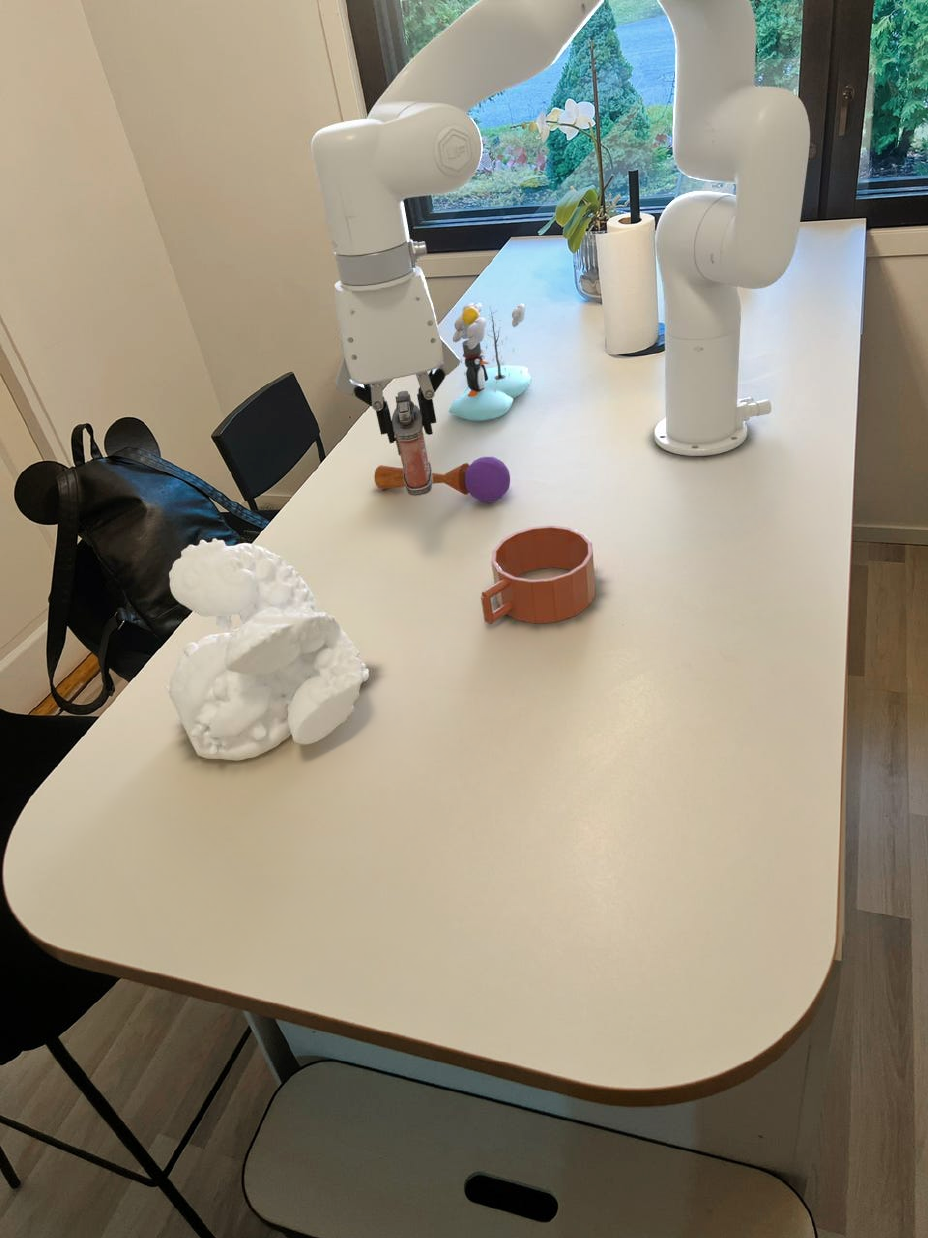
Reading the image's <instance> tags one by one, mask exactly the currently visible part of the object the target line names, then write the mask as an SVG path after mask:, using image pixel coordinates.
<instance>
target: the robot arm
mask: <svg viewBox="0 0 928 1238" xmlns="http://www.w3.org/2000/svg"><path fill="white" fill-rule="evenodd" d="M604 1H605V0H478V1H477V2H475V3H474V4H472V6H470V7H469V8H468V9H466V10H465V11H464V12H462V14H461V15H459V17H457V18H456V19H455V20H454V21H453V22H452V23H451V24H450V25H448V26H447V27H446V28H444V30H442V31H441V32H440V33H438V35H436V36H435V37H434V38H433V39H432V40H431V41H429V42H428V43H427V44H426V45H425V46H424V47H422V49H421V50H419V51H418V52H417V53H416V54H415V55H413V57H412V58H411V59H410V60H409V62H407V63H406V65H405V66H404V67H403V68H402V70H401V71H400V72H399V73H398V74H397V75H396V77H395V78H394V79H393V80H392V82H391V83H390V84H389V86H388V87H387V88H386V89H385V90H384V92H383V93H382V94H381V96H380V97H379V98H378V99H377V101H376V102H375V104H374V105H373V106H372V108H371V110H370V111H369V113H368V115H367V118H362V119H354V120H347V121H342V122H338V123H334V124H331V125H328V126H325V127H323V128H321V129H319V130H318V131H316V133H315V134H314V136H312V139H311V144H310V145H311V146H310V148H311V149H310V150H311V155H312V160H313V166H314V169H315V174H316V178H317V182H318V187H319V191H320V195H321V201H322V205H323V209H324V214H325V217H326V222H327V226H328V232H329V235H330V240H331V244H332V248H333V253H334V257H335V258H334V259H335V262H336V266H337V267H336V268H337V271H338V274H339V280H338V281H337V282H335V283H334V285H333V287H334V289H333V290H334V304H335V305H334V306H335V313H336V314H335V315H336V320H337V327H338V331H339V337H340V343H341V349H342V353H343V356H342V358H341V361H340V365H339V368H338V371H337V374H336V377H335V380H334V387H335V390H336V391H337V392H339V393H342V394H346V395H348V396H352V397H353V396H354V397H356V398H357V399H359V400H360V401H362V402H363V403H365V404H367V405H368V406H370V407H372V409H373V410H374V411H375V414H376V419H377V423H378V427H379V432H380V435H381V436H383V435H387V439H388V442H389V444H394V443H395V442H396V439H395V434H394V431H393V425H392V416H391V412H390V411H391V410H390V408H389V404H388V401H387V400H386V399H385V397H384V392H383V391H384V390H383V389H384V388H383V382H387V381H392V380H396V379H400V378H406V377H409V376H413V375H415V376H416V380H417V382H418V385H419V387H418V389H417V394H416V398H417V403H418V408H419V410H420V412H421V415H422V420H423V429H424V433H425V434H426V435H427V436H431V435H433V434H434V433H433V427H432V425H433V424H437V417H436V411H435V405H434V399H433V398H434V397H435V393H436V392H437V390H438V389H439V388H440V386H441V384H442V383H443V382H444V380H445V379H446V377H447V376H449V375H450V374H451V373H452V372H454V370H455V369H457V368H458V367H459V366H460V365H461V362H460V361H461V359H460V358H459V356H458V355H457V354H456V353H455V351H454V350H453V349H452V348H451V347H450V346H449V344H448V343H447V342H446V341H445V340H444V339H443V338H442V337H441V335H440V329H439V324H438V321H437V320H438V319H437V317H436V312H435V308H434V304H433V301H432V298H431V295H430V291H429V288H428V283H427V280H426V277H425V275H424V271H423V270H422V267H421V266H418V265H416V263H417V262H418V260H420V259H421V258H422V257H427V256H428V250H427V244H426V242H425V241H419V242H418V241H413V239H411V238H410V234H409V233H410V231H409V227H408V221H407V216H406V210H405V203H404V201H405V200H406V199H409V198H416V197H417V198H418V197H427V196H435V195H443V194H448V193H450V192H451V193H452V192H455V191H456V190H459V189H460V188H462V187H464V186H465V185H466V184H467V183H468V182H469V181H470V180H472V178H473V177H474V176H475V174H476V172H477V171H478V169H479V167H480V164H481V162H482V157H483V149H484V148H483V139H482V135H481V131H480V130H479V129H480V128H479V127H478V125H477V123H476V122H475V121H474V119H473V118H472V117H471V116H470V115H469V114H468V112H469V111H470V110H471V109H473V108H474V107H475V106H477V105H479V104H480V103H482V102H483V101H485V100H487V99H488V98H491V97H492V96H494V95H496V94H499V93H501V92H504V91H506V90H509V89H511V88H514V87H516V86H519V85H522V84H524V83H525V82H527V81H529V80H532V79H533V78H535V77H536V76H538V75H540V74H541V73H543V72H545V71H546V70H548V69H549V68H550V67H551V66H552V65H553V64H555V62H556V61H557V59H558V58H559V57H560V56H561V54H562V53H563V52H564V50H565V49H566V48H567V47H568V46H569V44H570V43H571V42H572V41H573V39H574V38H575V36H576V35H577V34H578V33H579V31H580V30H581V29H582V28H583V27H584V26H585V25H586V23H587V22H588V21H589V20H590V18H591V17H592V16H593V15H594V14H595V12H596V11H597V10H598V9H599V8H600V6H601V5H602V4H603V2H604ZM656 1H657V3H658V4H659V5H660V7H661V8H662V10H663V12H664V13H665V15H666V17H667V19H668V21H669V25H670V26H671V29H672V33H673V37H674V43H675V76H674V77H675V78H674V80H675V82H674V100H673V116H672V117H673V119H672V120H673V121H672V156H673V161H674V164H675V166H676V168H677V170H679V172H680V173H681V174H683V175H685V176H687V177H688V178H691V179H696V180H698V181H699V180H700V181H707V182H713V183H721V184H730V185H735V194H731V193H723V192H715V191H703V190H700V191H692V192H687V193H685V194H682V195H680V196H678V197H676V198H675V199H673V200H672V201H671V202H670V203H669V204H668V205H667V206H666V207H665V208H664V210H663V212H662V213H661V216H659V219H658V222H657V225H656V230H655V238H654V239H655V253H656V259H657V264H658V269H659V273H660V277H661V285H662V290H663V291H662V293H663V303H664V306H663V308H664V310H663V311H664V378H665V379H664V381H665V382H664V385H665V387H664V389H665V390H664V392H665V393H664V394H665V395H664V397H665V401H664V402H665V403H664V404H665V418H663V419H662V420H661V421H659V423H658V424H657V425H656V426H655V428H654V441H655V443H656V444H657V445H658V446H659V447H660V449H661V448H662V449H663V450H665V451H667V452H669V453H673V454H675V455H681V456H687V457H706V456H714V455H718V454H722V453H726V452H729V451H731V450H734V449H736V448H738V447H739V446H741V445H742V444H743V443H744V442H745V440H746V439H747V437H748V424H747V422H746V421H749V420H750V418H753V417H759V416H763V415H769V414H771V412H772V404H771V402H770V400H769V399H763V400H759V401H755V400H754V398H753V397H752V396H749V397H744V398H741V399H738V389H739V369H740V368H739V367H740V366H739V365H740V342H741V322H742V320H741V318H742V306H741V298H740V294H739V290H738V288H743V289H748V290H757V289H758V290H759V289H760V290H761V289H765V288H768V287H770V286H771V285H773V284H775V283H776V282H778V281H779V280H780V279H781V278H782V276H783V275H784V274H785V273H786V271H787V270H788V268H789V267H790V264H791V262H792V259H793V256H794V254H795V251H796V247H797V243H798V238H799V231H800V226H801V217H802V210H803V204H804V203H803V202H804V195H805V187H806V180H807V172H808V171H807V170H808V163H809V155H810V147H811V146H810V144H811V128H810V127H811V126H810V121H809V116H808V113H807V110H806V107H805V105H804V103H803V101H802V100H801V99H800V98H799V96H798V95H797V94H796V93H794V92H793V91H791V90H789V89H787V88H783V87H779V86H756V82H755V67H756V50H757V49H756V48H757V47H756V46H757V25H756V24H757V23H756V18H755V12H754V9H753V6H752V2H751V1H750V0H656ZM367 385H368V386H367Z"/></svg>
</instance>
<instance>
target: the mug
mask: <svg viewBox="0 0 928 1238" xmlns="http://www.w3.org/2000/svg"><path fill="white" fill-rule="evenodd" d="M593 551H594V549H593V543H592V541H591V540H590V539H589V538H588V537H587V536H586V534H584V533H583V532H580V531H578V530H576V529H573V528H571V527H565V526H558V525H540V526H531V527H527V528H525V529H522V530H521V529H520V530H518V531H514V532H513V533H512V534H510V535H507V536H506V537H504V538H503V539H501V540H500V541H499V542H498V544H497V545H496V546H495V547H494V549H493V550H492V552H491V568H492V576H493V582H494V584H493V585H491V586H489V587H488V588H486V589H484V590H483V591H482V592H481V595H480V602H481V607H482V613H483V620H484V622H486V623H488V624H489V625H491V624H493V623H495V622H496V621H498V620H499V619H502V618H503V617H504V616H506V615H508V616H509V617H511V618H513V619H515V620H516V621H521V622H525V623H531V624H548V623H549V624H550V623H557V622H561V621H564V620H568V619H570V618H573V617H575V616H578V615H579V614H580V613H581V612H583V611H584V610H586V609H588V608H589V607H590V605H591V604H592V602H593V600H594V599H595V597H596V595H597V593H596V592H597V591H596V579H595V578H596V577H595V565H594V563H595V562H594V552H593ZM551 568H556V569H562V570H568V571H569V572H567V573H563V574H560V575H558V576H554V577H550V578H539V579H538V578H537V579H530V578H524V577H519V576H521V575H522V574H527V573H528V572H532V571H535V570H539V569H540V570H541V569H551ZM493 597H496V601H497V604H498V606H499V607H498V608H496V609H495V610H493V607H492V598H493Z"/></svg>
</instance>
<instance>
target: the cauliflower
mask: <svg viewBox="0 0 928 1238" xmlns="http://www.w3.org/2000/svg"><path fill="white" fill-rule="evenodd" d="M180 555H181V556H180V558H177V559H176V560H174V562H173V563H172V568H171V570H169V573H168V577H169V588H170V592H171V594H172V596H173V598H174V599H175V601H177V602H178V603H179V604H180V605H182V606H184V607H186V608H187V609H189V610H190V611H192V612H193V613H195V614H197V615H199V616H201V617H205V618H212V617H213V618H214V617H215V618H216V626H217V627H218V628H219V629H221V630H225V631H228V630H230V629H231V628H232V627H233V620H232V618H231V617H232V616H234V615H237V614H238V616H239V618H240V621H241V622H242V625H241V626H240V627H238V628H233V629H232V630H231V631H229V632H221V633H215V634H214V633H213V634H209V635H206V636H204V637H202V638H200V639H199V640H198V641H197V642H196V643H195V642H188V643H186V644H185V645H184V647H183V655H182V656H181V657H180V659H179V660H178V662H177V665H176V667H175V669H174V671H173V673H172V675H171V677H170V680H169V681H170V683H169V685H167V684H165V685H164V687H165V689H166V691H167V692H168V693H169V698H170V700H171V702H172V704H173V706H174V708H175V710H176V713H177V715H178V717H179V719H180V720H179V721H181V724H182V726H183V728H184V730H185V732H186V734H187V737H188V739H189V741H190V743H191V745H192V747H193V749H194V751H195V753H196V754H197V756H199V757H202V758H204V759H208V760H226V761H234V762H235V761H236V762H239V761H245V760H246V759H252V758H256V757H258V756H260V755H262V754H265V753H266V752H268V751H270V750H272V749H274V748H276V747H278V746H279V745H280V744H281V743H282V742H284V741H286V740H287V739H289V737H290V736H291V737H292V740H293V742H294V743H296V744H299V745H311V744H314V743H317V742H319V741H320V740H322V739H324V738H326V737H327V736H328V735H330V734H331V733H332V732H334V731H335V729H337V728H338V726H340V725H341V724H344V723H346V721H347V719H348V718H349V716H350V714H352V713H353V712H354V710H355V707H354V703H355V702H356V700H359V698H360V691H361V685H362V684H363V683H365V682H367V681H368V679H369V678H370V674H369V672H370V669H369V668H367V665H366V664H365V663H364V662H363V660H362V659H361V657H360V651H359V650H357V647H356V646H355V644H354V642H353V641H352V640H350V637H349V635H347V633H346V632H344V630H343V628H342V627H341V626H340V623H339V622H338V621H337V619H336V617H335V615H330V614H329V613H328V612H325V611H320V612H319V611H318V610H317V602H316V599H315V597H314V594H313V592H312V590H311V589H310V588H309V586H308V585H307V583H306V582H305V580H304V579H302V577H301V576H300V575H299V572H298V571H295V569H294V568H295V567H294V566H293V565H290V561H289V560H283V561H282V556H280V555H279V554H275V553H273V552H271V551H269V550H267V549H266V548H265V547H261V546H260V545H256V544H254V543H248V542H243V543H238V544H235V545H227V544H226V542H225V540H223V539H217V538H215V537H214V538H212V540H211V541H210V542H207V541H206V540H204V539H201V540H199V543H198V544H197V545H194V544H189V545H187V547H185V548H184V549H182V550H181V551H180Z"/></svg>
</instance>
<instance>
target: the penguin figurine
mask: <svg viewBox="0 0 928 1238" xmlns="http://www.w3.org/2000/svg"><path fill="white" fill-rule="evenodd" d="M491 307H492V306H489V310H492V308H491ZM482 309H483V304H482V303H481V302H477V303H475V304H474V302H469V303H467V304H465V305H464V306H463V307H462V310H461V311H462V313H461V314H460V315H459V316H458V317H457V318H456V320H455V322H454V329H455V332H454V334H453V336H452V341H453V343H458V342H460V341H461V339H463V340H464V341H463V342H462V343H461V345H462V351H463V354H462V357H463V358H464V366H465V367H466V370H465V371H464V374H463V375H464V377H466V384H467V387H466V389H465V391H464V392H463V393H462V394H461V395H460V396H458V397H456V399H454V400H453V402H452V403H451V405H450V407H449V409H448V413H449V414H451V415H453V416H457V417H459V418H463V419H465V420H468V421H473V422H474V421H477V422H478V421H479V422H480V421H489V420H494V419H497V418H500V417H502V416H504V415H505V414H506V413H507V412H509V410H510V409H511V407H512V405H513V402H514V398H516V397H519V396H520V395H522V394H523V393H525V392H526V390H528V388H530V385H531V382H532V377H531V376H530V374H529V369H528V368H527V367H526V366H523V365H505V361H503V360H502V359H503V356H502V354H500V353H501V351H500V352H498V344H497V343H498V342H499V341H498V340H499V337H500V329H501V327H499V329H498V330H497V331H496V332H495V322H494V317H493V316H491V318H489V320H490V321H491V323H492V330H487V331H486V327H487V326H486V325H487V321H486V319H485V318H484V317H482V316H481V314H480V313H481V311H482ZM494 311H495V312H492V311H490V312H491V313H490V314H491V315H493V314H495V313H496V312H497V310H494ZM525 311H526V306H525V304H524V303H520V304H518V305H517V306H516V307H515V308H514V309H513V311H512V313H511V318H512V321H511V325H512V327H513V328H516V327H518V325H519V324H520V323H522V322H523V321H524V319H525ZM500 321H502V319H500ZM489 332H492V333H493V336H491V338H493V340H494V341H493V343H494V344H493V346H494V350H495V351H494V352H495V358H492V362H494V361H496V365H497V366H494V367H490V368H486V366H485V365H490V363H489V362H487V361H484V359H485V358H486V356H485V351H484V350H483V349H481V348H482V347H481V342H482V341H483V340H484V339H485V335H486V336H488V337H490V334H489ZM497 332H498V333H497ZM496 333H497V336H496ZM496 337H497V338H496ZM505 341H508V335H505ZM503 343H504V341H503V340H501V341H500V344H501V345H504V344H503ZM485 349H488V344H486V345H485ZM511 350H512V354H515V348H513V349H511ZM499 354H500V355H499ZM499 356H500V357H499ZM460 363H463V360H460Z"/></svg>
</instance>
